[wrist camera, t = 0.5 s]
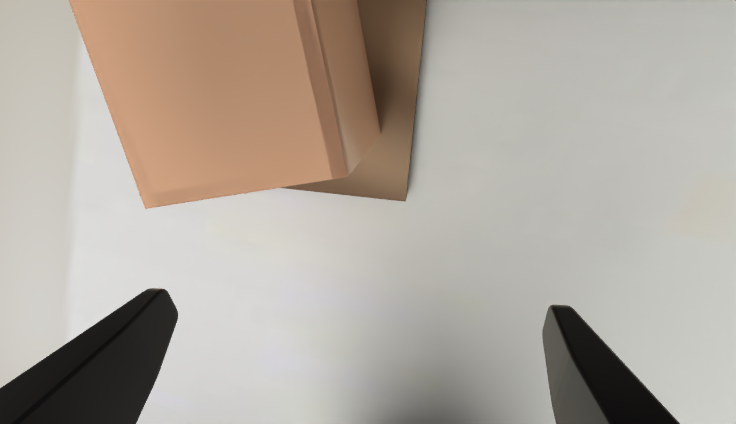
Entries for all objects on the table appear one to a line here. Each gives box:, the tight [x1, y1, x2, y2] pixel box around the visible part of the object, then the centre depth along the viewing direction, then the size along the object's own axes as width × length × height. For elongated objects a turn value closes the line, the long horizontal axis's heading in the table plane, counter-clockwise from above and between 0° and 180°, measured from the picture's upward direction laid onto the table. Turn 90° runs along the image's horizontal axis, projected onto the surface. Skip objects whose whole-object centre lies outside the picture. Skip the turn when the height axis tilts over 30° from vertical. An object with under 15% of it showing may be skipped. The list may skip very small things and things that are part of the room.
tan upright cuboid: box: [69, 0, 381, 209], centre depth 17 cm, size 7×7×9 cm
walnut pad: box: [280, 0, 427, 201], centre depth 21 cm, size 12×12×1 cm
